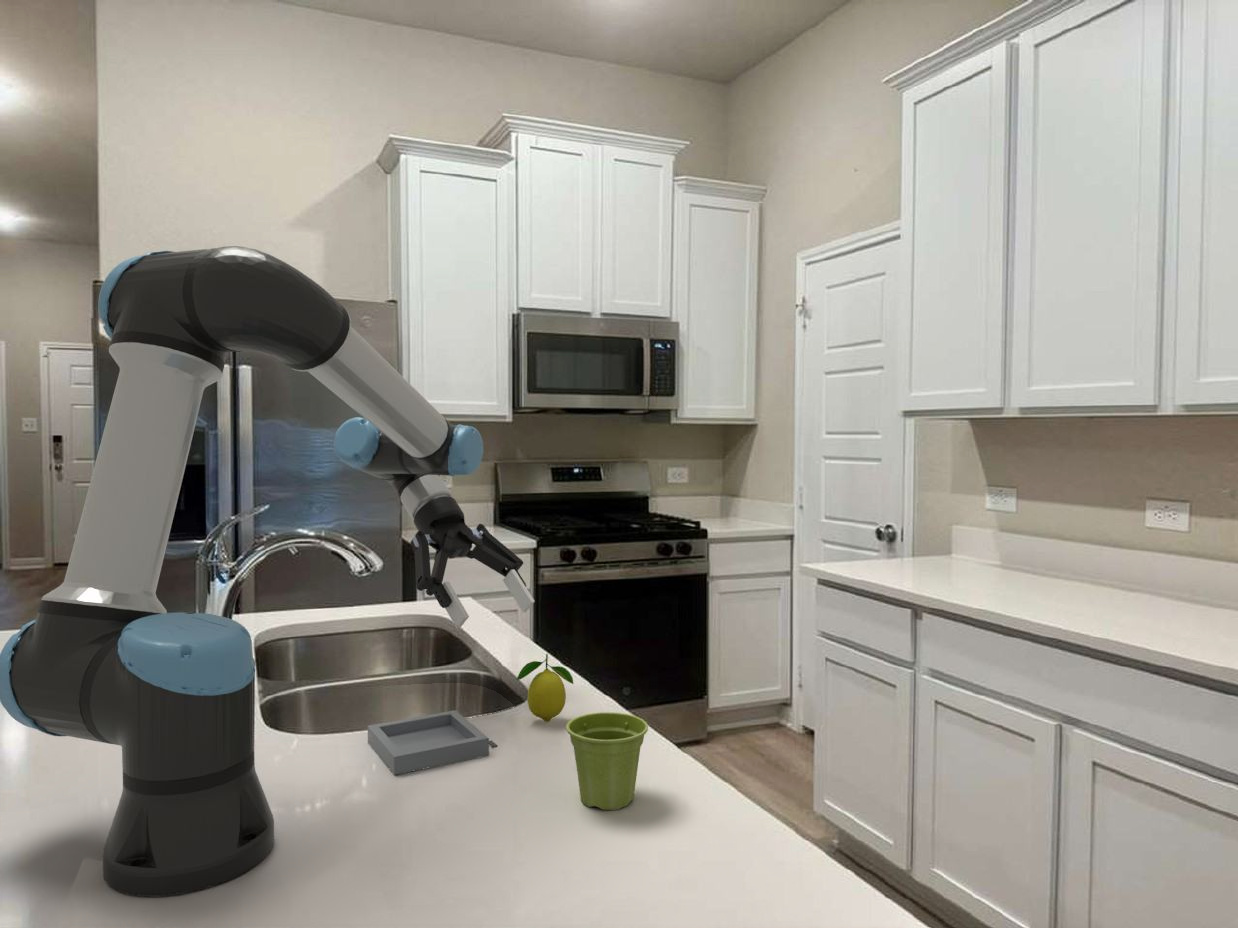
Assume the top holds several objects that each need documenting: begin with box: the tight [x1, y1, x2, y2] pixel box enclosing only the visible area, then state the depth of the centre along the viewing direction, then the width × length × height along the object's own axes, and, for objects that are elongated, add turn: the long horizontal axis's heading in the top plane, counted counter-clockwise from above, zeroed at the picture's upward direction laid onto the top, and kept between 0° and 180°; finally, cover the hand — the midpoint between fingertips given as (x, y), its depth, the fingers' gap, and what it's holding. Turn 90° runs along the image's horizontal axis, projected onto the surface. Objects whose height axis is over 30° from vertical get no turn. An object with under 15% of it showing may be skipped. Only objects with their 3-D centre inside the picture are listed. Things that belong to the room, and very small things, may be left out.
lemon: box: [516, 653, 574, 723], centre depth 121 cm, size 7×6×10 cm
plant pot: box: [565, 711, 649, 811], centre depth 96 cm, size 9×9×9 cm
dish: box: [367, 709, 490, 776], centre depth 111 cm, size 12×12×2 cm
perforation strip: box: [482, 732, 498, 748], centre depth 116 cm, size 9×1×1 cm, turn 31°
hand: (497, 614), depth 127 cm, fingers open, 13 cm apart
